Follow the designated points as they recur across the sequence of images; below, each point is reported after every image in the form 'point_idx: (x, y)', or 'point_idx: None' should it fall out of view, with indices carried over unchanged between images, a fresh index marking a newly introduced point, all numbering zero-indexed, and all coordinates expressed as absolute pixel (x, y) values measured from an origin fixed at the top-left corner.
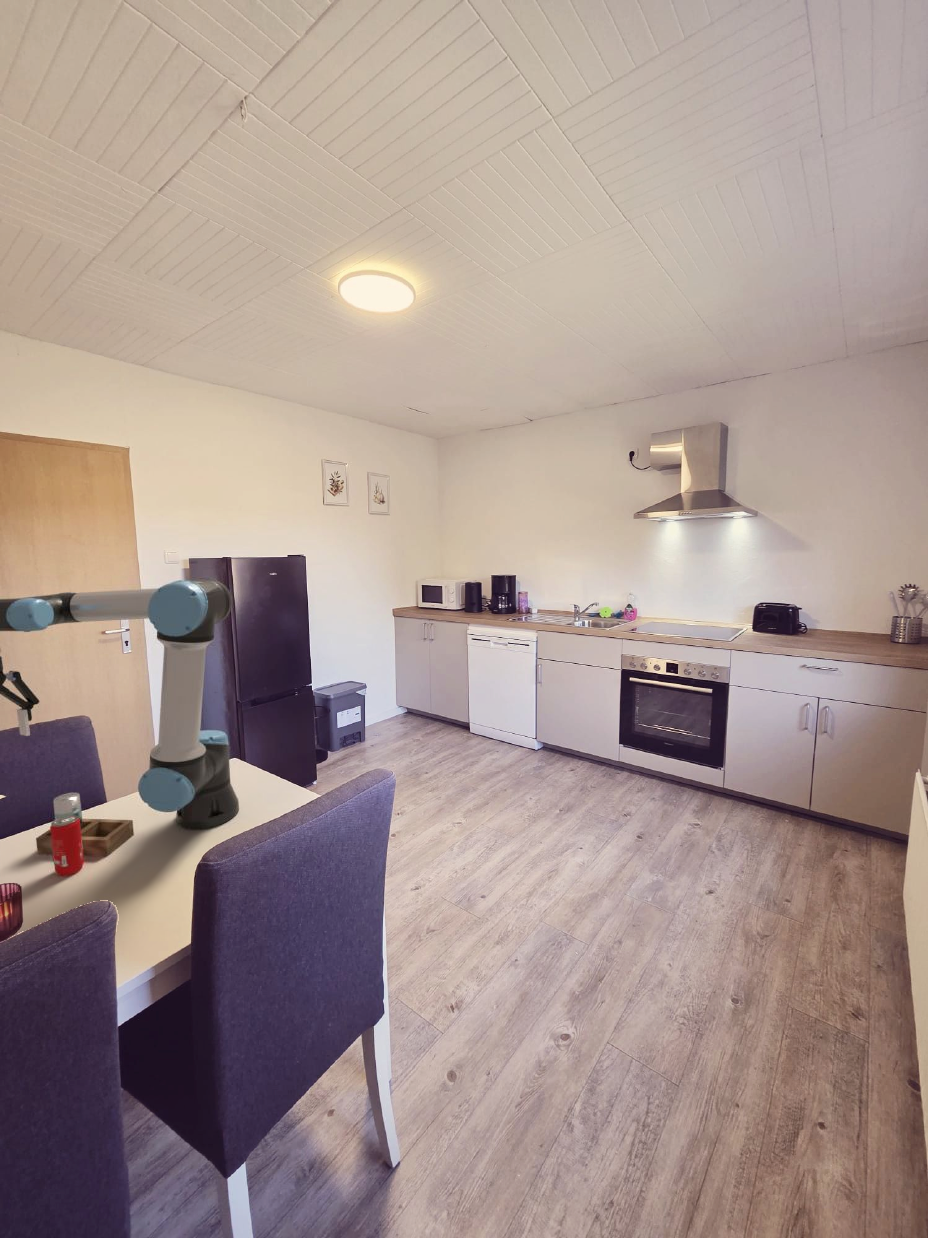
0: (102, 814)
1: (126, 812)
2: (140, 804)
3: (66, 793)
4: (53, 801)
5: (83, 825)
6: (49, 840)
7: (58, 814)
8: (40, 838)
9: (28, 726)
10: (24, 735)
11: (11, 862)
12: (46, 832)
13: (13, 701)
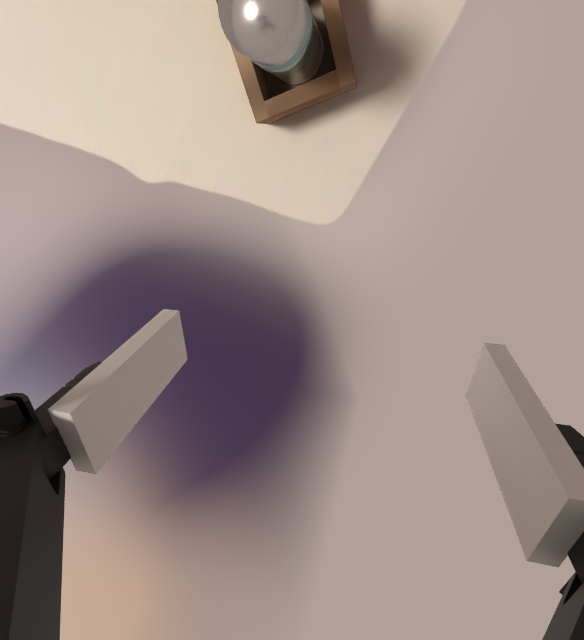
0: (183, 140)
1: (147, 84)
2: (110, 93)
3: (239, 51)
4: (295, 25)
5: None
6: (345, 33)
7: (306, 5)
8: (351, 65)
9: (137, 335)
10: (181, 327)
11: (400, 112)
12: (324, 86)
13: (49, 540)
